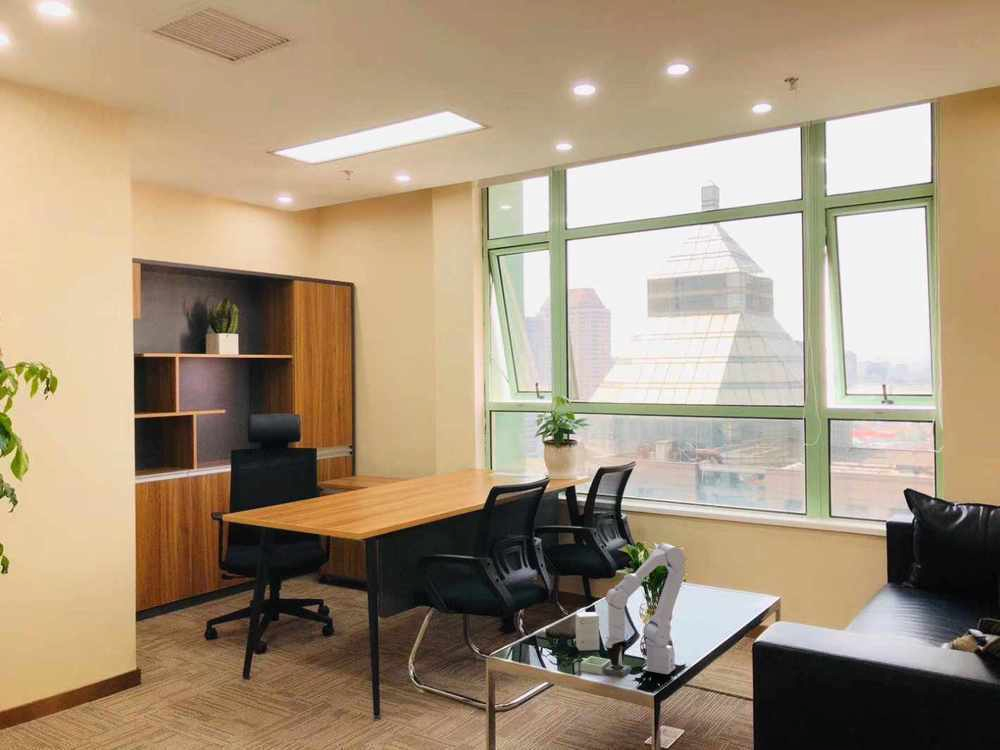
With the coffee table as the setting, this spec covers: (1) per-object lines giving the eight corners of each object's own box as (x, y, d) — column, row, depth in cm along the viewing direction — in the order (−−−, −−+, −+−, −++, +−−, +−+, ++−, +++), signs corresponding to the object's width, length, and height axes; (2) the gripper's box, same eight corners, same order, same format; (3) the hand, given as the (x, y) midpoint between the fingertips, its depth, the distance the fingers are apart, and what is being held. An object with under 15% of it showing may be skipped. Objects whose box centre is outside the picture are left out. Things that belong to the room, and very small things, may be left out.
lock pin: (624, 671, 288) (624, 645, 288) (620, 674, 284) (620, 648, 284) (614, 669, 290) (614, 643, 290) (609, 672, 286) (609, 646, 286)
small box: (596, 645, 320) (595, 611, 320) (599, 650, 313) (599, 615, 314) (575, 645, 319) (575, 612, 319) (578, 650, 312) (578, 616, 313)
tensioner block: (630, 671, 288) (630, 666, 288) (622, 677, 282) (622, 671, 282) (612, 668, 292) (612, 662, 292) (603, 674, 286) (603, 668, 286)
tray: (611, 667, 292) (611, 659, 292) (601, 674, 286) (601, 666, 286) (591, 664, 297) (590, 656, 297) (581, 670, 290) (581, 662, 290)
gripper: (614, 617, 296) (615, 655, 295) (597, 627, 283) (598, 667, 283) (632, 620, 292) (633, 658, 292) (616, 630, 280) (616, 670, 279)
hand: (617, 663), depth 287 cm, fingers closed on lock pin, 4 cm apart
